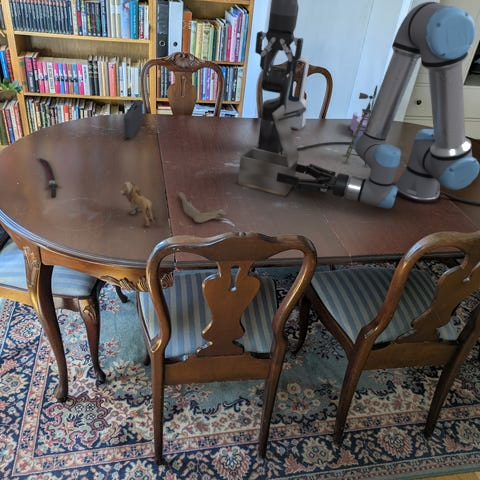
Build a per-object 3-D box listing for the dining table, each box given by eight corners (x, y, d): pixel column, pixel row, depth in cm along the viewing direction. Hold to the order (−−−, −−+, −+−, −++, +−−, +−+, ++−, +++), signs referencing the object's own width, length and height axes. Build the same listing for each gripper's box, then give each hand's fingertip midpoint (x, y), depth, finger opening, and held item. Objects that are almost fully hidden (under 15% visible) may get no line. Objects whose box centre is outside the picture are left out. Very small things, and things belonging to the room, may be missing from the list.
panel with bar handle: (271, 113, 144) (296, 106, 140) (281, 105, 152) (305, 98, 148) (288, 167, 150) (312, 162, 146) (297, 157, 158) (319, 152, 154)
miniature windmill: (366, 166, 183) (386, 89, 167) (344, 163, 184) (362, 86, 168) (365, 158, 191) (384, 83, 175) (345, 154, 192) (362, 80, 176)
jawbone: (206, 230, 134) (206, 224, 132) (158, 205, 144) (157, 199, 143) (227, 217, 139) (227, 212, 138) (179, 194, 150) (179, 188, 148)
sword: (61, 197, 141) (61, 193, 140) (50, 198, 139) (50, 194, 139) (49, 160, 164) (48, 156, 163) (39, 160, 163) (39, 157, 162)
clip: (343, 126, 223) (346, 112, 219) (367, 127, 225) (371, 113, 221) (360, 142, 206) (364, 127, 202) (386, 142, 209) (390, 127, 205)
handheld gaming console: (136, 121, 202) (136, 98, 197) (143, 121, 202) (142, 98, 197) (123, 140, 183) (122, 115, 178) (130, 141, 183) (130, 116, 178)
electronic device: (304, 126, 217) (316, 59, 201) (301, 131, 211) (313, 62, 195) (279, 121, 220) (288, 54, 204) (275, 125, 214) (284, 57, 198)
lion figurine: (118, 210, 138) (116, 182, 133) (132, 204, 141) (131, 177, 137) (151, 229, 130) (150, 201, 126) (165, 223, 134) (165, 195, 129)
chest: (237, 183, 160) (240, 156, 155) (248, 173, 168) (251, 147, 163) (285, 196, 156) (289, 168, 150) (293, 184, 164) (298, 158, 158)
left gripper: (255, 9, 132) (249, 69, 141) (303, 17, 128) (294, 78, 137) (263, 7, 138) (257, 65, 147) (310, 14, 134) (301, 73, 143)
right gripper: (337, 211, 144) (270, 194, 150) (350, 184, 162) (289, 169, 168) (342, 190, 140) (273, 172, 146) (355, 164, 158) (293, 149, 164)
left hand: (275, 71), depth 142 cm, fingers open, 7 cm apart
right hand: (282, 170), depth 157 cm, fingers closed on chest, 10 cm apart
